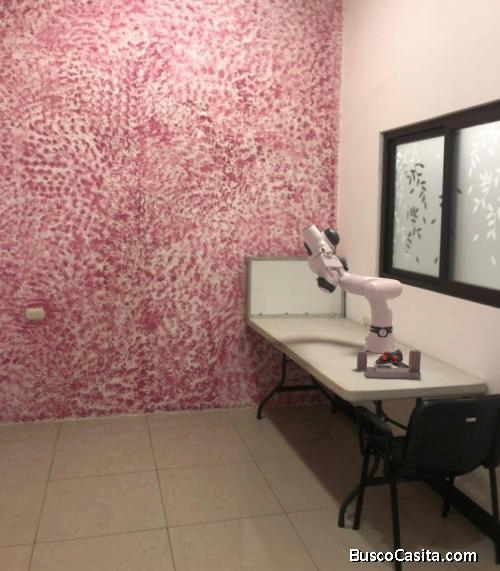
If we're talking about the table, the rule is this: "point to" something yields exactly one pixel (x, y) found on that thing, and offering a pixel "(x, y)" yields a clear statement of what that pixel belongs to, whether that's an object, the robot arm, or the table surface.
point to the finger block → (361, 360)
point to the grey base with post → (397, 369)
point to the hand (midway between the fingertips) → (337, 276)
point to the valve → (392, 358)
